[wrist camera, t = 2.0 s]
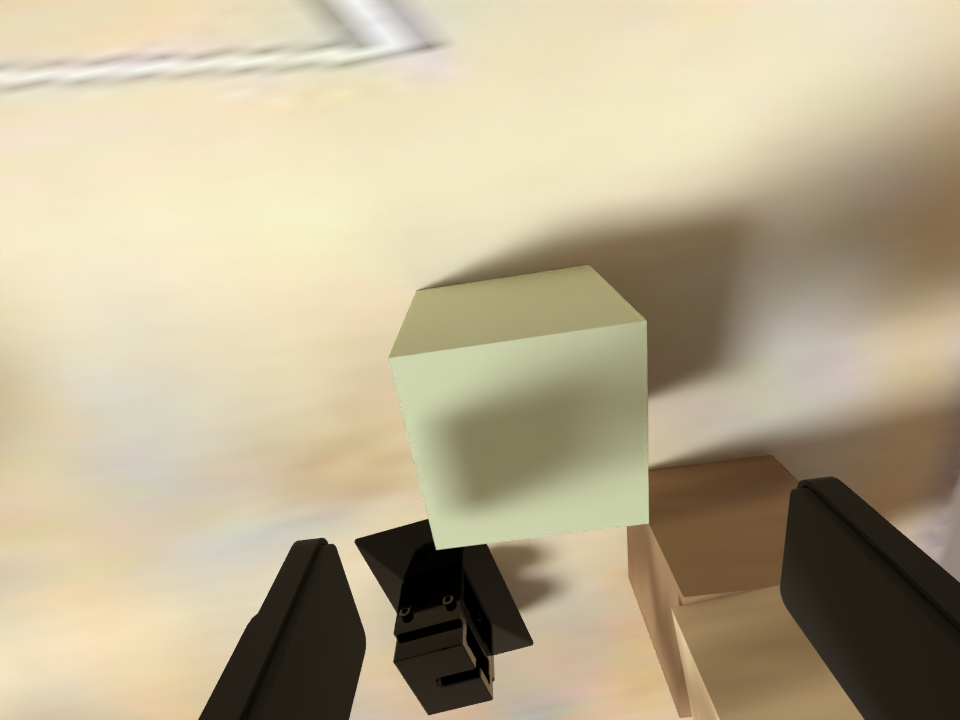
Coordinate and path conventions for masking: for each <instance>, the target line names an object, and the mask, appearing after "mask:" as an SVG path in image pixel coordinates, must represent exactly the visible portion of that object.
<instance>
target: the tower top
mask: <svg viewBox="0 0 960 720" xmlns="http://www.w3.org/2000/svg"><path fill="white" fill-rule="evenodd" d="M671 609H672V614H673V619H674V625H675V630H676V635H677V640H678V645H679V651H680V656H681V661H682V666H683V671H684V677H685V682H686V687H687V692H688V697H689V702H690V708H691V713H692V718H693V720H864V719H863V717H862V716H861V714H860V713H859V711H858V710H857V709H856V707H855V706H854V704H853V703H852V701H851V700H850V699H849V697H848V696H847V694H846V693H845V691H844V690H843V689H842V687H841V686H840V684H839V683H838V681H837V680H836V679H835V677H834V676H833V674H832V673H831V671H830V670H829V669H828V667H827V666H826V664H825V663H824V661H823V660H822V659H821V657H820V656H819V654H818V653H817V651H816V650H815V649H814V647H813V646H812V644H811V643H810V641H809V640H808V639H807V637H806V636H805V634H804V633H803V631H802V630H801V629H800V627H799V626H798V624H797V623H796V621H795V620H794V619H793V617H792V616H791V614H790V613H789V611H788V610H787V608H786V607H785V605H784V603H783V601H782V597H781V594H780V585H778V586H773V587H769V588H764V589H759V590H755V591H750V592H745V593H741V594H736V595H731V596H726V597H722V598H717V599H712V600H708V601H703V602H698V603H693V604H689V605H684V606H679V607H674V608H671Z"/></svg>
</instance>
